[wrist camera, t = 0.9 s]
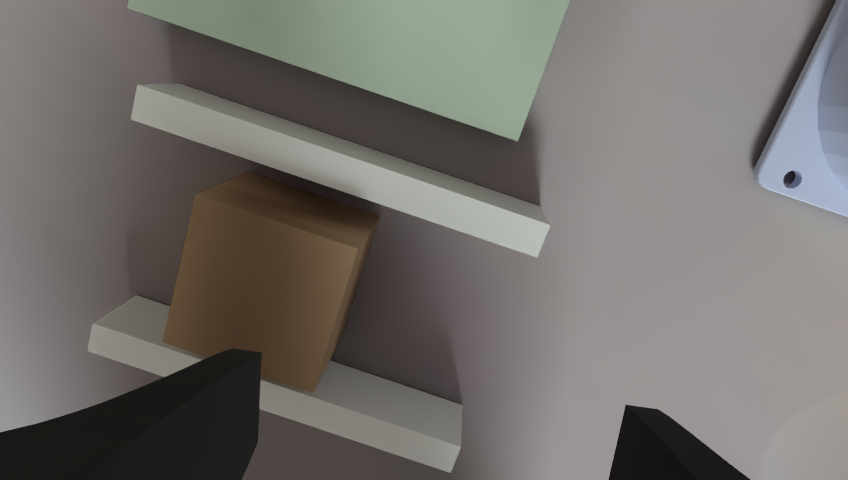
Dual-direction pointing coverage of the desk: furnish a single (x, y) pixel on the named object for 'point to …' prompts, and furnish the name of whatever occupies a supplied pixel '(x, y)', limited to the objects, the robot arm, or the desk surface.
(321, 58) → the mat
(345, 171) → the parallel rails
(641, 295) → the desk surface
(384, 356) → the desk surface
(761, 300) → the desk surface
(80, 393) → the desk surface
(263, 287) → the walnut block
